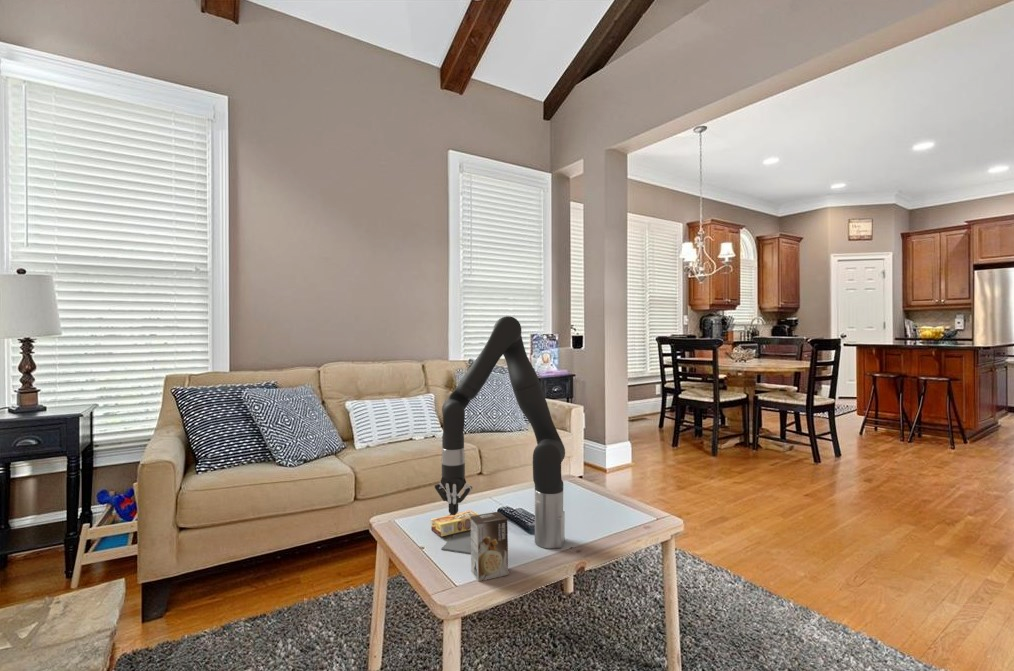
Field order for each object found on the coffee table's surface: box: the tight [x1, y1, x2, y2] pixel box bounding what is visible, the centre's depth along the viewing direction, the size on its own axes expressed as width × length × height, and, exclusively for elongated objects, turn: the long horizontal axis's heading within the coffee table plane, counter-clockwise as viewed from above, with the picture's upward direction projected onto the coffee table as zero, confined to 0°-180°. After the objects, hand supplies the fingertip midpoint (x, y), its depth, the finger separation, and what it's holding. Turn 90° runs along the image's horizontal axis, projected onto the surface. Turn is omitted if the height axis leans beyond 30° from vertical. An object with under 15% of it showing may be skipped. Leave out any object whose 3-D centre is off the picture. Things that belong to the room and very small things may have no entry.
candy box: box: [430, 509, 480, 537], centre depth 164 cm, size 9×4×15 cm
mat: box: [440, 530, 471, 555], centre depth 154 cm, size 15×14×1 cm
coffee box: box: [470, 511, 509, 582], centre depth 135 cm, size 9×6×16 cm
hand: (453, 514), depth 156 cm, fingers closed
